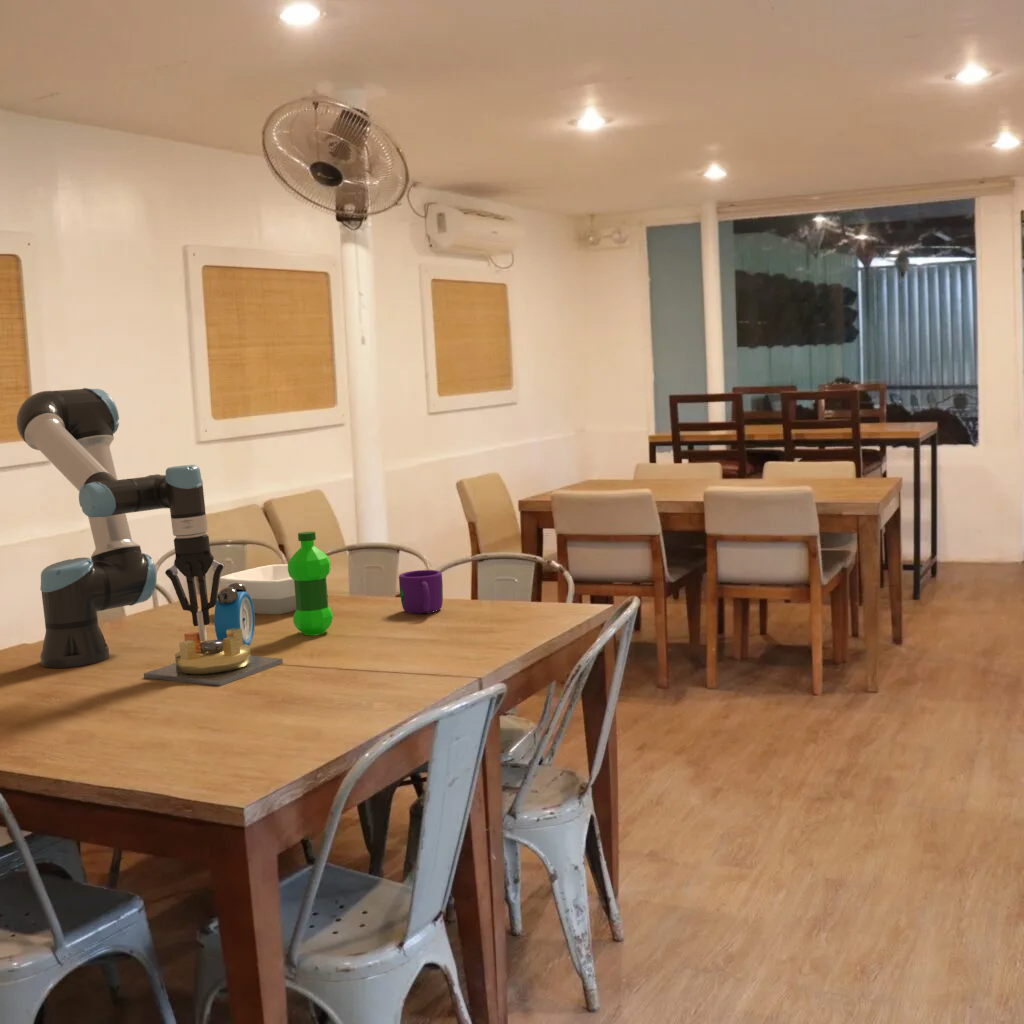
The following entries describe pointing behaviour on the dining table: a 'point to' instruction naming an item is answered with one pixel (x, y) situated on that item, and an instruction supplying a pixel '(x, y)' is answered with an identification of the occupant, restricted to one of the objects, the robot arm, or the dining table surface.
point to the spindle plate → (214, 678)
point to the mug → (421, 591)
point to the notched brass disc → (212, 653)
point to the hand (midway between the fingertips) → (203, 639)
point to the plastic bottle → (310, 586)
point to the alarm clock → (234, 612)
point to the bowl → (267, 588)
